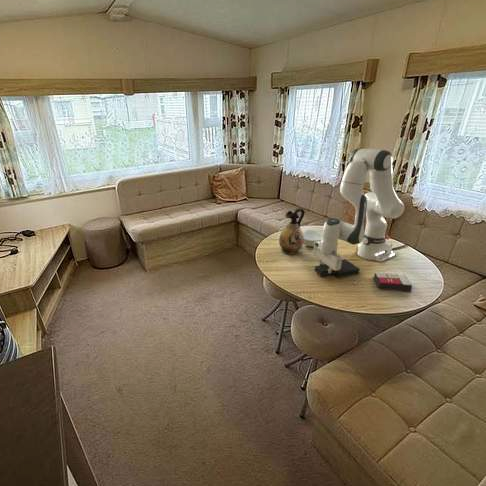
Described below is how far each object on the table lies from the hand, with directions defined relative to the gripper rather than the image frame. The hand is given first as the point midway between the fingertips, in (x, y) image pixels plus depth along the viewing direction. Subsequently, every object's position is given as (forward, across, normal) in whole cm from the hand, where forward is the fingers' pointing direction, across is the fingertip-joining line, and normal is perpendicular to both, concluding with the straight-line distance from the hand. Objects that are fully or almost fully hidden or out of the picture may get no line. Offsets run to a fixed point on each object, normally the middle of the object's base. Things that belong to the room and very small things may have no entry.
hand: (324, 269), depth 169 cm
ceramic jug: (+3, +31, +2) cm, 31 cm away
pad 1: (+2, 0, -2) cm, 3 cm away
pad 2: (+3, 0, -12) cm, 12 cm away
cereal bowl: (+3, +35, -16) cm, 38 cm away
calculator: (+3, -21, -27) cm, 34 cm away
